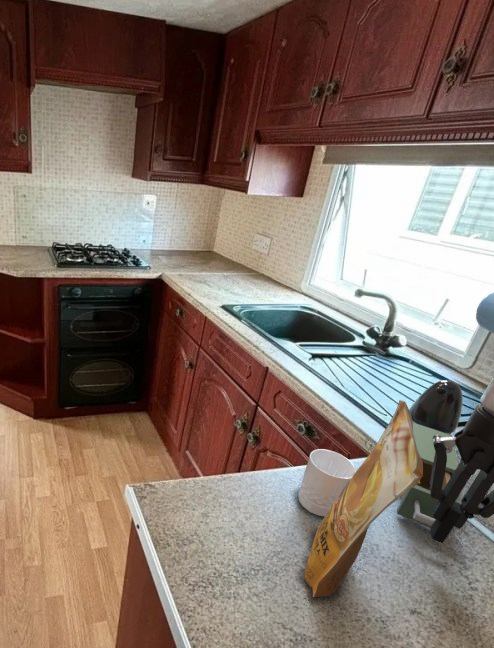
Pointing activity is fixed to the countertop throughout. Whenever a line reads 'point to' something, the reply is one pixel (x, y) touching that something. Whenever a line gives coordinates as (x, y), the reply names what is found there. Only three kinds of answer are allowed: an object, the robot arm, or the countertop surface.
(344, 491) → the pancake mix bag
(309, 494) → the white cup
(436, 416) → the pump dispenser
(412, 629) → the countertop surface
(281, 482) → the countertop surface
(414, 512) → the drawer
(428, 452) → the cabinet
